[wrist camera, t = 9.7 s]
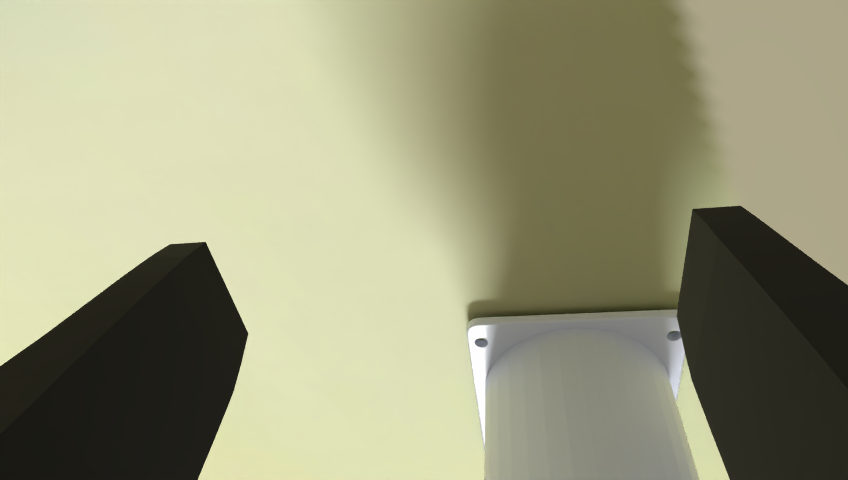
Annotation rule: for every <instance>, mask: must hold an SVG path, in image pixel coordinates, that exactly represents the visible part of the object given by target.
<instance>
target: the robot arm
mask: <svg viewBox="0 0 848 480" xmlns="http://www.w3.org/2000/svg"><path fill="white" fill-rule="evenodd" d="M671 331H676V332H673V333H669V332H671ZM247 337H248V332H247V330H246V328H245V326H244V323H243V321H242V319H241V317H240V315H239V313H238V311H237V308H236V306H235V304H234V302H233V300H232V298H231V296H230V293H229V291H228V289H227V287H226V285H225V283H224V281H223V278H222V276H221V274H220V272H219V270H218V268H217V266H216V263H215V261H214V259H213V257H212V255H211V253H210V251H209V248H208V246H207V244H206V242H199V243H184V244H170V245H168V246H167V247H165V248H163V249H162V250H160V251H159V252H157V253H155V254H154V255H152V256H151V257H149V258H148V259H147V260H145V261H144V262H142V263H141V264H139V265H138V266H137V267H135V268H134V269H132V270H131V271H130V272H128V273H127V274H126V275H124V276H123V277H122V278H120V279H119V280H117V281H116V282H115V283H113V284H112V285H111V286H109V287H108V288H107V289H105V290H104V291H103V292H101V293H100V294H99V295H97V296H96V297H95V298H93V299H92V300H91V301H89V302H88V303H87V304H85V305H84V306H83V307H81V308H80V309H79V310H77V311H76V312H75V313H73V314H72V315H71V316H69V317H68V318H67V319H65V320H64V321H63V322H61V323H60V324H59V325H57V326H56V327H55V328H53V329H52V330H51V331H49V332H48V333H47V334H45V335H44V336H42V337H41V338H40V339H38V340H37V341H35V342H34V343H33V344H31V345H30V346H28V347H27V348H26V349H24V350H23V351H21V352H20V353H18V354H17V355H16V356H14V357H13V358H11V359H10V360H8V361H7V362H6V363H4V364H3V365H1V366H0V480H198V477H199V475H200V473H201V470H202V468H203V465H204V463H205V460H206V458H207V456H208V453H209V451H210V448H211V446H212V444H213V441H214V439H215V436H216V434H217V431H218V429H219V426H220V424H221V422H222V419H223V417H224V414H225V412H226V409H227V407H228V404H229V402H230V399H231V396H232V394H233V391H234V388H235V384H236V380H237V377H238V373H239V370H240V366H241V362H242V358H243V354H244V349H245V345H246V341H247ZM467 337H468V344H469V351H470V357H471V364H472V371H473V377H474V384H475V391H476V397H477V404H478V411H479V417H480V424H481V431H482V438H483V444H484V451H485V471H484V480H699V476H698V473H697V470H696V466H695V463H694V460H693V456H692V453H691V450H690V446H689V443H688V440H687V436H686V433H685V430H684V426H683V423H682V420H681V416H680V413H679V410H678V406H677V397H678V391H679V385H680V380H681V374H682V368H683V362H684V356H685V355H686V359H687V363H688V366H689V370H690V374H691V378H692V381H693V384H694V387H695V390H696V392H697V395H698V398H699V400H700V403H701V406H702V408H703V411H704V413H705V416H706V419H707V421H708V424H709V427H710V429H711V432H712V434H713V437H714V440H715V442H716V445H717V447H718V450H719V452H720V455H721V458H722V460H723V463H724V465H725V468H726V471H727V473H728V476H729V478H730V480H848V285H847V284H845V283H844V282H843V281H841V280H840V279H838V278H837V277H836V276H834V275H833V274H832V273H830V272H829V271H828V270H826V269H825V268H823V267H822V266H821V265H819V264H818V263H817V262H815V261H814V260H813V259H811V258H810V257H809V256H807V255H806V254H805V253H803V252H802V251H801V250H799V249H798V248H797V247H795V246H794V245H793V244H792V243H790V242H789V241H788V240H786V239H785V238H784V237H782V236H781V235H780V234H778V233H777V232H776V231H774V230H773V229H772V228H770V227H769V226H768V225H766V224H765V223H764V222H762V221H761V220H760V219H758V218H757V217H756V216H754V215H753V214H751V213H750V212H749V211H747V210H746V209H744V208H743V207H741V206H731V207H716V208H701V209H693V210H692V217H691V223H690V230H689V237H688V243H687V250H686V257H685V263H684V270H683V276H682V283H681V290H680V296H679V303H678V310H676V309H672V310H649V311H625V312H601V313H578V314H554V315H530V316H507V317H483V318H475V319H472V320H471V321H469V323H468V325H467ZM478 338H484V340H479V339H478Z"/></svg>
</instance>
